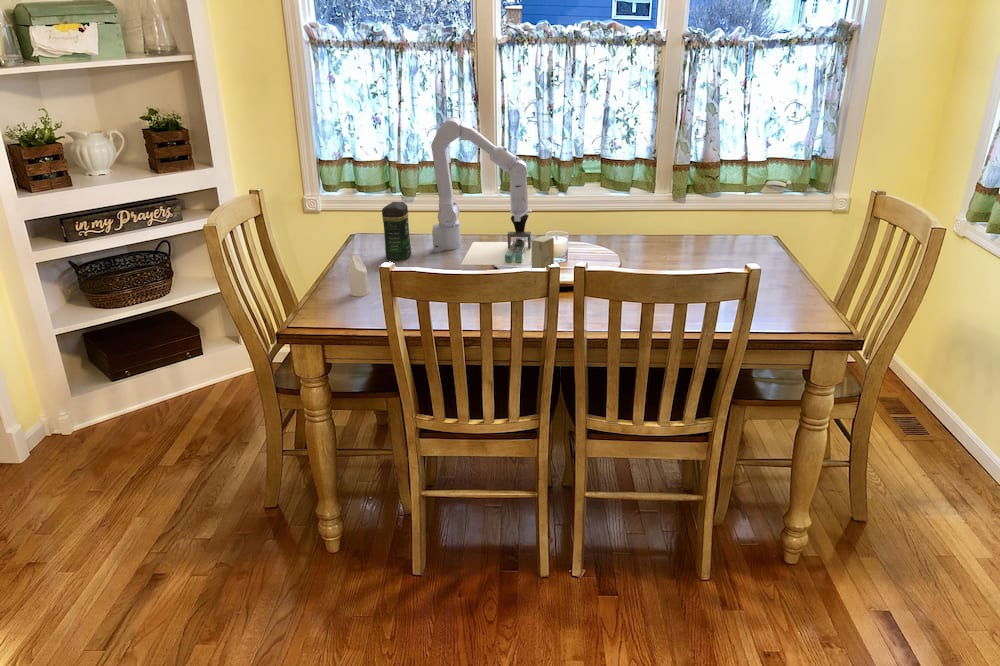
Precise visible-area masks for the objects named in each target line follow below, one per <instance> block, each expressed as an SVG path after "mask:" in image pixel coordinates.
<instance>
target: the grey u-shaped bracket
mask: <svg viewBox="0 0 1000 666" xmlns="http://www.w3.org/2000/svg"><path fill="white" fill-rule="evenodd" d="M507 232H508V233H507V234H506V235H507V242H508V248H510V247H511V242H512V238H527V242H528V248H531V240H532V231H524V232H516V231H507Z"/></svg>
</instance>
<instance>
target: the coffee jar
mask: <svg viewBox="0 0 1000 666" xmlns="http://www.w3.org/2000/svg"><path fill="white" fill-rule="evenodd" d="M408 209H409V207H408V205H407V204H406V203H405V202H403V201H391V203H389V204H387V205H386V206H384V207H383V208H382V209H381V216H382V222H383V233H384V234H383V235H384V245H385V246H384V247H385V248H384V249H385V250H384V251H385V258H386V260H389V259H391V260H389V261H392V260H394V261H393V262H398V261H405V260H408V259H409V257H410V256H411V255H412V246H411V245H412V244H411V238H410V237H411V235H410V226H409V225H410V224H409V210H408Z"/></svg>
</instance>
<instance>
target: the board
mask: <svg viewBox="0 0 1000 666" xmlns="http://www.w3.org/2000/svg"><path fill="white" fill-rule="evenodd" d="M512 243H513V241H511V245H512ZM519 248H520V247H518V246H517V248H516V251H515V253H514V255H513V261H512V262H505V254H506V252H509V250H510V248H508V241H472V243H471V246H470V247H469V249H468V250H467V252H466V254H465V256H464V258H463V260H462V261H461V264H460V266H530V264H531V262H532V249H531V248H528V241H526V247H525V250H524V253H523V261H522V262H515V254H516V252H518V251H519Z"/></svg>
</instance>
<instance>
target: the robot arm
mask: <svg viewBox="0 0 1000 666" xmlns="http://www.w3.org/2000/svg"><path fill="white" fill-rule="evenodd" d="M459 137H460V138H459ZM458 138H459V140H460V141H469V142H472V144H474V145H475V146H476V147H478V148H480V149H481V150H483V152H485V153H487V154H488V155H489V159H490V161H491V162H492V163H494V164H495V165H496V166H497V167H499V168H501V169H502V170H503V171H505V172H507V173H508V175H509V177H510V183H509V188H510V189H509V191H510V192H509V193H510V210H509V211H510V214H511V216H510V221H511V223H512V224H513V227H514V229H515V231H514V232H525V228H526V225H527V221H528V218H529V214H531V213H532V209H531V208H529V204H528V203H529V199H528V195H529V194H528V193H529V192H528V182H527V181H528V178H527V174H528V165H527V163H526V162H525V161H524V160H523V159H521V158H520V157H519V156H518V155H517V156H515V155H514V154H513V153H511V152H510V151H509V150H508V147H506V146H505V145H504V146H502V145H495V144H493V143H492V142H491V141H490V140H488V139H487V138H486V137H485V136H483V135H482V134H481V133H480V132H478V131H477V130H476V129H475V128H474V127H473V126H471V125H470V124H469V123H467V122H466V121H463V120H462V119H461V118H460V117H458V116H450V117H448V118H447V119H446V120H445V121H444V122H443V123H442V124H441V125H440V126H439V127H438V129H437V132H436V133H435V135H434V137H433V140H432V142H431V147H430V148H431V154H432V160H433V165H434V166H433V167H434V173H435V179H436V186H437V193H438V214H437V220H438V223H436V224H433V226H432V244H433V245H432V247H433V249H432V252H433V253H440V252H444V251H445V250H456V249H459V248H461V247H462V237H461V236H462V234H461V222H460V221H459V219H458V217H459V216H460V208H459V206H458V204H457V202H456V198H455V196H454V189H453V184H452V183H453V182H452V178H451V177H452V175H451V171H450V164H449V163H450V162H449V155H448V151H447V150H448V147H449V145H451V143H452V142H454V141H455V140H457V139H458ZM528 213H529V214H528Z"/></svg>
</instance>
